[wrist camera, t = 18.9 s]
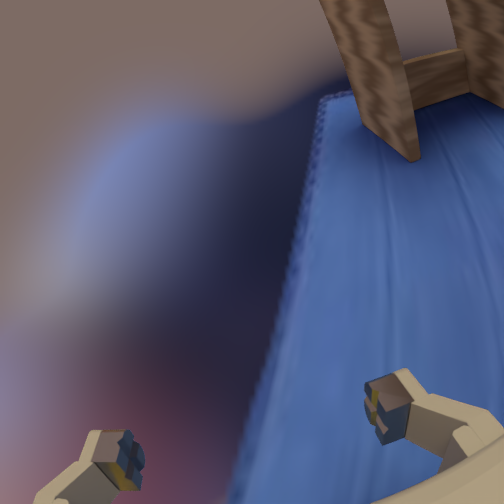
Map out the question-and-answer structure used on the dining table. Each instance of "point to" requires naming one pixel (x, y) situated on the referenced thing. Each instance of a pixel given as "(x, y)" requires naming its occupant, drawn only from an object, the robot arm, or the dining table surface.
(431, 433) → the robot arm
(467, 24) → the pine shelf
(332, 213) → the dining table surface
